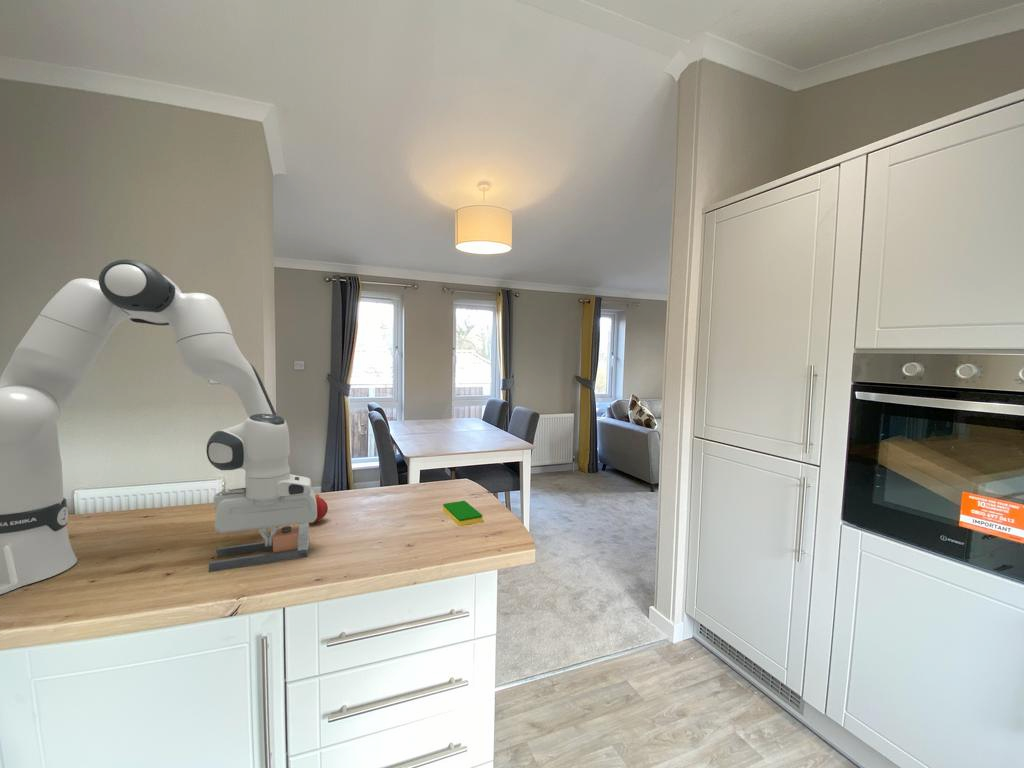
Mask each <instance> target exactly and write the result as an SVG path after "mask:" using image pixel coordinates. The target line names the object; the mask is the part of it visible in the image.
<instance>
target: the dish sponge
mask: <svg viewBox="0 0 1024 768" xmlns="http://www.w3.org/2000/svg"><path fill="white" fill-rule="evenodd" d="M442 505H443V506H442V511H443V512H444V513H445V514H446V515H447V516H448V517H449V518H450V519H451V520H452V521H453V522H454V523H455V524H456V525H457V526H458V527H464V526H469V525H473V524H475V525H476V524H481V523H483V514H482V513H481V512H479V510H477V509H476V508H474V507H473V506H472V505H471V504H470V503H468V502H467V501H466V500H460V501H459V500H458V501H454V502H452V501H451V502H447V503H443V504H442Z"/></svg>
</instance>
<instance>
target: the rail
mask: <svg viewBox="0 0 1024 768" xmlns="http://www.w3.org/2000/svg"><path fill="white" fill-rule="evenodd" d="M298 526H299V532H298V549H294V550H287V551H280V552H273V545H272V546H265V547H264V544H265V543H264V541H258V542H251V543H250V542H249V543H244V544H237V545H229V546H222V547H217V549H216V558H224V557H229V556H230V557H231V556H236V555H243V554H253V553H258V552H259V553H260V552H266V551H272V552H268V553H261V554H253V555H248V556H239V557H234V558H233V557H232V558H226V559H219V560H213V561H212V560H211V561H209V563H208V573H211V572H218V571H219V572H220V571H225V570H232V569H237V568H245V567H251V566H258V565H265V564H270V563H276V562H283V561H289V560H291V561H292V560H297V559H303V558H308V557H309V546H310V523H303V524H299V525H298Z"/></svg>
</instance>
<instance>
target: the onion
mask: <svg viewBox="0 0 1024 768" xmlns="http://www.w3.org/2000/svg"><path fill="white" fill-rule="evenodd" d="M314 494H315V497H316V503H317V518H316V520H315V521H314V522H313V523H315V524H317V523H319V522H320V521H321V520H322V519H324V517H326V516H327V513H328V509H329V507H328V504H327V502H326V500H324V499H323V498H321V497H320V494H318V493H314Z"/></svg>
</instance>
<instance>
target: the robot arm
mask: <svg viewBox="0 0 1024 768" xmlns="http://www.w3.org/2000/svg"><path fill="white" fill-rule="evenodd" d="M226 315H227V314H226V313H225V310H224V309H223V307H222V305H221V304H220V302H219V301H218V299H217V298H215V297H214V296H212V295H210V294H207V293H203V292H188V293H187V292H184V291H183V290H182V289H181V288H180V287H179V286H178V285H177V284H176V283H175V282H174V281H172V279H170V278H169V277H168V276H166V275H164V274H162V272H160V271H159V270H157V268H154V267H153V266H151V265H149V264H148V263H144V262H141V261H139V260H133V259H118V260H115V261H112V262H110V263H108V264H107V265H106V266H105V267H104V268H103V269H102V270H101V271H100V274H99V277H98V279H97V280H96V279H92V278H85V277H83V278H82V277H80V278H75V279H72V280H70V281H69V282H68V283H66V284H65V285H64V286H63V287H62V288H61V289H60V290H58V291H57V293H55V294H54V296H52V298H51V299H50V300H49V301H48V302H47V304H46V305H45V306H44V307H43V309H42V310H41V311H40V313H39V314H38V316H37V317H36V319H35V320H34V321H33V323H32V324H31V326H30V327H29V329H28V330H27V332H26V333H25V335H24V336H23V338H22V339H21V341H20V342H19V343H18V345H17V346H16V348H15V350H14V352H13V354H12V356H11V358H10V360H9V361H8V363H7V365H6V367H5V368H4V371H2V374H1V376H0V595H2V594H3V595H4V594H5V593H8V592H11V591H13V590H15V589H19V588H20V587H24V586H27V585H30V584H33V583H36V582H41V581H43V580H46V579H49V578H52V577H54V576H56V575H59V574H61V573H64V572H65V571H67V570H69V569H70V568H73V566H74V565H75V564H76V563H78V557H77V556H76V554H75V552H74V549H73V548H72V547H73V546H72V545H71V541H70V538H69V534H68V527H67V525H68V517H69V512H68V505H67V499H66V498H65V497H64V482H63V479H64V478H63V463H62V462H63V461H62V457H61V452H60V451H61V450H60V442H59V432H58V420H59V419H60V417H61V415H62V414H63V412H64V411H65V409H66V408H67V406H68V404H69V402H70V401H71V400H72V398H73V397H74V395H75V393H76V391H77V389H78V388H79V386H80V385H81V383H82V381H83V380H84V378H85V376H86V375H87V373H88V372H89V370H90V368H91V367H92V365H93V364H94V362H95V361H96V359H97V357H98V356H99V354H100V352H101V350H102V349H103V347H104V346H105V345H106V343H107V342H108V339H109V338H110V336H112V335H111V334H112V333H113V331H114V330H115V329H116V327H117V326H118V325H119V324H120V323H121V322H123V321H125V320H128V319H129V320H131V321H132V322H133V323H138V324H147V325H154V326H170V328H171V331H172V333H173V336H174V341H175V344H176V348H177V352H178V354H179V355H178V356H179V358H180V360H181V362H182V363H183V365H184V367H185V368H186V369H187V370H188V371H189V372H190V373H192V374H193V375H195V376H197V377H200V378H202V379H206V380H208V381H213V382H215V383H219V384H222V385H224V386H225V387H228V388H230V389H231V390H233V391H234V392H235V394H237V396H238V397H239V400H240V401H241V403H242V405H243V409H244V410H245V412H246V414H247V418H246V419H245V420H244V421H243V422H240V423H239V424H235V425H233V426H230V427H226V428H223V429H220V430H217V431H215V432H213V433H212V435H211V436H210V437H209V438H208V440H207V443H206V444H207V445H206V456H207V459H208V461H209V463H210V464H211V466H213V467H214V468H216V469H218V470H219V471H234V470H238V469H239V470H240V469H242V470H244V471H245V475H244V482H245V484H244V486H245V487H239V488H232V489H228V488H227V489H222V490H221V491H219V492H217V493H216V494H215V495H214V496H213V507H214V509H215V510H216V511H215V517H214V518H215V519H214V530H215V532H217V533H218V534H226V533H227V534H228V533H233V532H234V533H235V532H236V533H237V532H241V531H242V532H243V531H250V530H252V531H253V530H258V532H259V535H260V536H261V537H262V538H263V542H264V543H265V544H264V547H265V546H272V545H273V535H275V533H276V531H277V529H279V528H278V527H286V526H293V525H300V524H304V523H309V524H311V523H314V521H315V520H316V518H317V503H316V497H315V494H316V493H315V492H314V490H313V489H312V481H311V478H309V477H308V476H302V475H301V476H300V475H296V474H291V469H290V468H291V467H290V465H289V457H290V454H291V450H290V449H291V447H290V446H291V444H290V442H291V441H290V432H289V426H288V423H287V421H286V419H285V418H284V417H283V416H280V415H277V413H276V411H275V408H274V406H273V404H272V402H271V400H270V397H269V395H268V393H267V390H266V387H265V386H264V384H263V381H262V378H261V377H260V375H259V373H258V372H257V370H256V368H255V367H254V365H253V364H251V363H250V362H249V361H248V360H247V359H246V358H245V356H244V355H243V353H242V352H241V350H240V349H239V347H238V344H237V343H236V340H235V337H234V334H233V331H232V328H231V327H232V326H231V325H230V321H229V320H228V318H227V317H228V316H226ZM268 529H269V532H270V534H269V533H268V532H267V530H268Z"/></svg>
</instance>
